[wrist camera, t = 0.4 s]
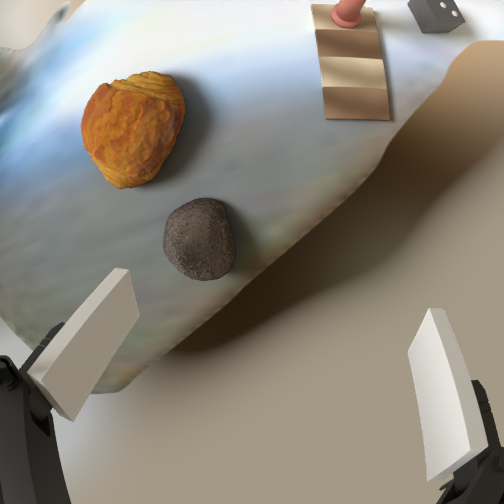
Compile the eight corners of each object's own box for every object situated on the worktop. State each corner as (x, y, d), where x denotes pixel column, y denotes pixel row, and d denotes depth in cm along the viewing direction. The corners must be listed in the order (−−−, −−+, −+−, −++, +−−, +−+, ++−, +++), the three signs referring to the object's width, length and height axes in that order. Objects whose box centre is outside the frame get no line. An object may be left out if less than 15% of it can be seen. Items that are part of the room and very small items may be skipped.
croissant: (212, 104, 36) (202, 85, 28) (149, 203, 39) (126, 208, 31) (131, 63, 34) (108, 42, 26) (76, 155, 37) (44, 151, 29)
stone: (178, 206, 42) (145, 267, 38) (188, 177, 35) (147, 248, 31) (237, 238, 44) (211, 300, 40) (260, 216, 37) (229, 289, 33)
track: (310, 7, 28) (311, 4, 27) (370, 10, 27) (372, 7, 26) (325, 119, 33) (326, 118, 32) (387, 120, 32) (390, 119, 31)
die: (407, 4, 26) (419, -11, 21) (434, 3, 25) (448, -10, 20) (422, 33, 27) (437, 21, 22) (448, 32, 26) (465, 21, 21)
